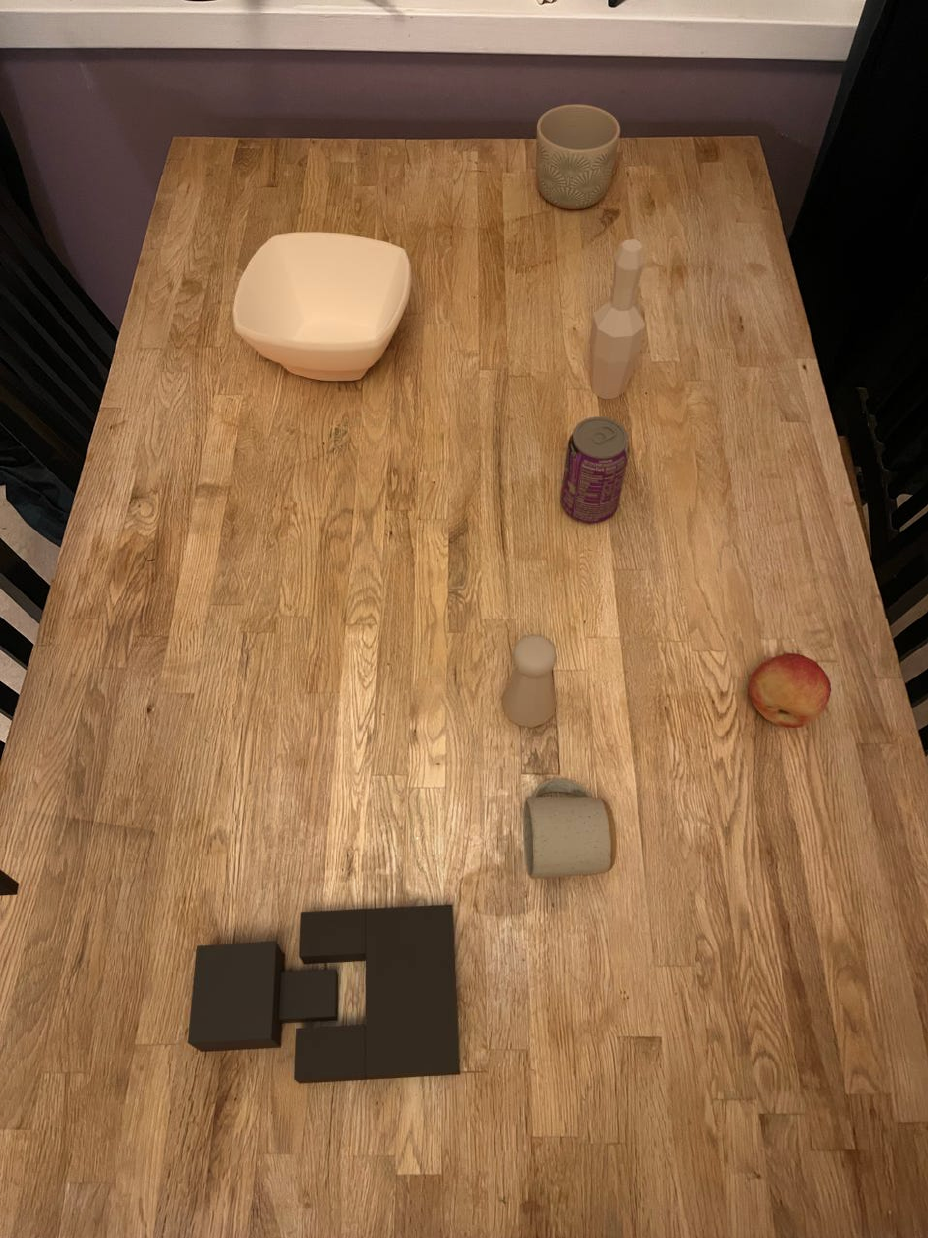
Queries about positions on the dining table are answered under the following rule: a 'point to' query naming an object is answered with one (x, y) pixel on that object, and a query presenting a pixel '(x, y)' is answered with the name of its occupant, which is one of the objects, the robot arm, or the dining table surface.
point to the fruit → (790, 690)
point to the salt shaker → (531, 682)
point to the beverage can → (594, 469)
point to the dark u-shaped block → (385, 995)
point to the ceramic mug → (567, 832)
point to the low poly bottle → (618, 326)
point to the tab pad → (253, 997)
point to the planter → (575, 155)
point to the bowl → (323, 302)
